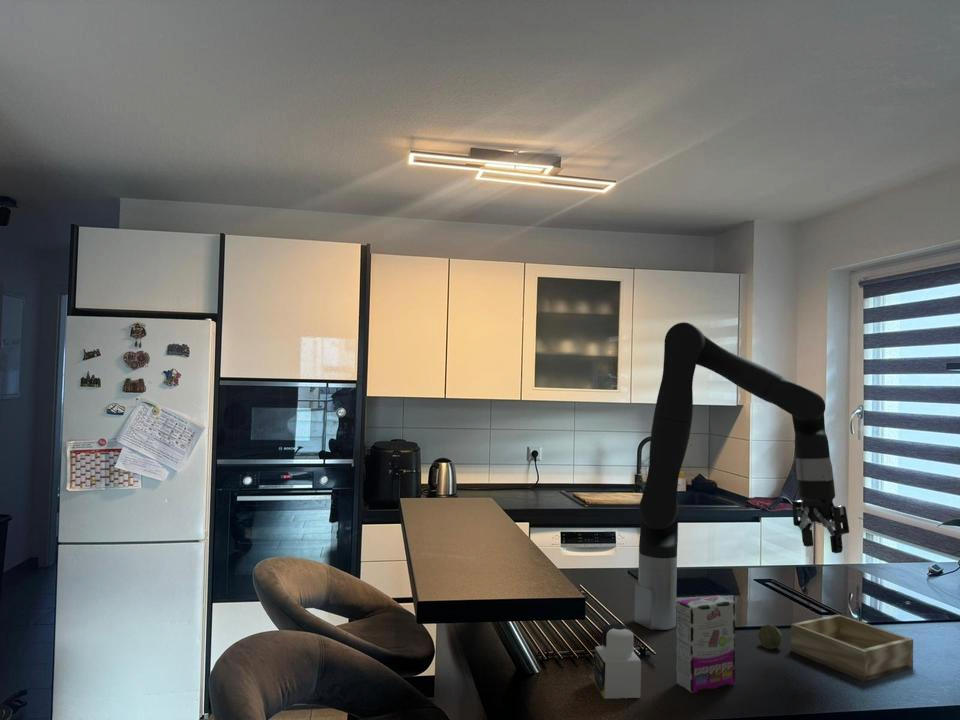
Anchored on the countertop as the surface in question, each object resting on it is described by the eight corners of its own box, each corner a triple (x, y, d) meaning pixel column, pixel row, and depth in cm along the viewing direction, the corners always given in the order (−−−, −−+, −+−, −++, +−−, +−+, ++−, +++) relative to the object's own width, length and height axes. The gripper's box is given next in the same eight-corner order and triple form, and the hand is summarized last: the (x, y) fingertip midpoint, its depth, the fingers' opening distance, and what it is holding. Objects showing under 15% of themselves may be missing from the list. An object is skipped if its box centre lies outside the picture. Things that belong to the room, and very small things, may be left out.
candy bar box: (717, 675, 135) (718, 594, 136) (735, 685, 130) (736, 601, 131) (673, 683, 131) (675, 599, 131) (691, 694, 126) (692, 607, 127)
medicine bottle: (593, 682, 130) (595, 620, 130) (629, 682, 130) (630, 620, 131) (603, 699, 123) (605, 634, 123) (640, 699, 123) (642, 634, 124)
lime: (783, 652, 148) (784, 629, 148) (761, 649, 149) (761, 627, 149) (779, 644, 153) (779, 622, 153) (756, 642, 154) (757, 620, 154)
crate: (864, 681, 134) (864, 651, 134) (790, 650, 149) (791, 624, 149) (913, 667, 142) (913, 639, 142) (838, 639, 157) (838, 614, 157)
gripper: (779, 476, 157) (786, 546, 156) (825, 481, 144) (833, 556, 142) (805, 474, 159) (812, 542, 158) (853, 478, 146) (861, 553, 144)
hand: (822, 549), depth 150 cm, fingers open, 8 cm apart
